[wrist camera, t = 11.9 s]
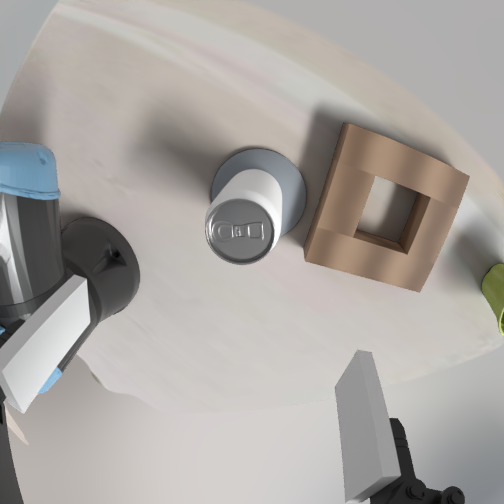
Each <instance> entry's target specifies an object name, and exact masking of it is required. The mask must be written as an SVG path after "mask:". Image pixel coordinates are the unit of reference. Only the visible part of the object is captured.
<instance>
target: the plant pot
mask: <svg viewBox="0 0 504 504" xmlns="http://www.w3.org/2000/svg"><path fill="white" fill-rule="evenodd" d="M482 293H483V295H484V296H485V298H486V300H487V301H488V303H489V305H490V306H491V308H492V310H493V312H494V314H495V315H496V317H497V322H498V327H499V331H500V332H501V334H502V335H503V336H504V264H497V265H495V266H493V267H492V268H491V270H490V271H489V272H488V273H487V274H486V275H485V277H484V279H483V282H482Z"/></svg>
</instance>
